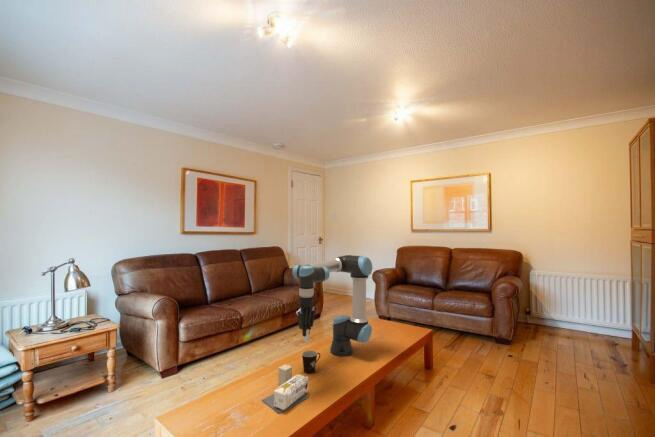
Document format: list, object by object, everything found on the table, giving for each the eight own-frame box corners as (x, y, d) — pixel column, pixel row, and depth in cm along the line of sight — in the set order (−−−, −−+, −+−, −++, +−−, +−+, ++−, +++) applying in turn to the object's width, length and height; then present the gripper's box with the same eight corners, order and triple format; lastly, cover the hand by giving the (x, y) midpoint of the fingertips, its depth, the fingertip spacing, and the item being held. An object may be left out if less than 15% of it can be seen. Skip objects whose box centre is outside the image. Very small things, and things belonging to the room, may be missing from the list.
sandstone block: (284, 380, 161) (285, 364, 162) (291, 383, 159) (292, 366, 159) (278, 384, 157) (278, 367, 158) (285, 387, 154) (285, 370, 155)
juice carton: (309, 375, 150) (285, 393, 133) (309, 393, 149) (284, 412, 133) (297, 371, 154) (272, 388, 137) (297, 388, 153) (272, 407, 137)
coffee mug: (303, 375, 167) (303, 357, 167) (300, 368, 175) (300, 351, 176) (323, 373, 170) (323, 355, 170) (319, 366, 178) (320, 349, 179)
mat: (291, 386, 156) (291, 385, 156) (309, 397, 146) (309, 396, 146) (261, 400, 143) (261, 399, 143) (278, 413, 133) (278, 412, 133)
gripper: (310, 292, 162) (310, 336, 161) (291, 296, 153) (291, 343, 152) (320, 295, 156) (320, 340, 156) (301, 299, 147) (301, 347, 147)
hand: (306, 341), depth 154 cm, fingers closed
